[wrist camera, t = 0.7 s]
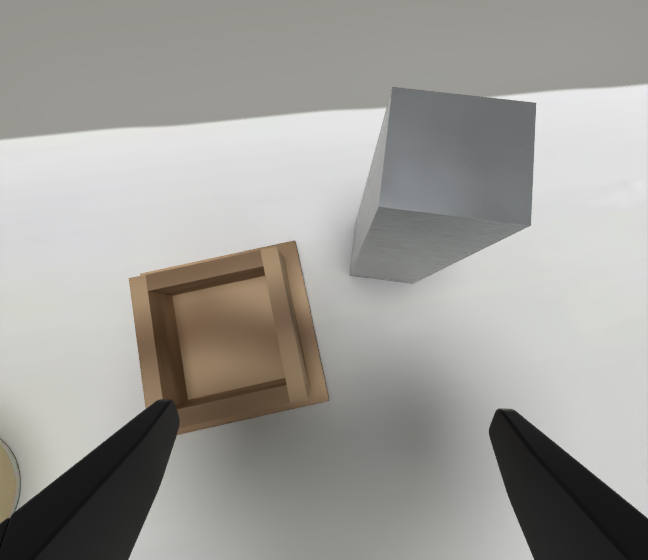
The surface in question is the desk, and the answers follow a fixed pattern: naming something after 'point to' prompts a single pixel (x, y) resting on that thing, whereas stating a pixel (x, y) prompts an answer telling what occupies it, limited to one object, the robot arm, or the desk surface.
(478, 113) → the silver block
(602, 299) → the desk surface
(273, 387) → the well
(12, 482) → the coffee cup
